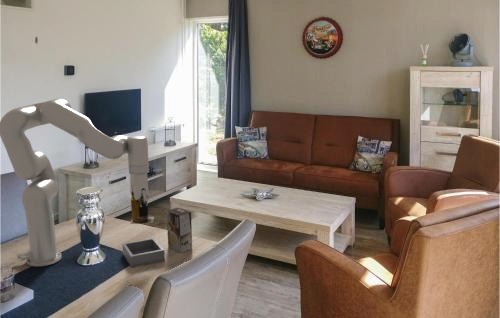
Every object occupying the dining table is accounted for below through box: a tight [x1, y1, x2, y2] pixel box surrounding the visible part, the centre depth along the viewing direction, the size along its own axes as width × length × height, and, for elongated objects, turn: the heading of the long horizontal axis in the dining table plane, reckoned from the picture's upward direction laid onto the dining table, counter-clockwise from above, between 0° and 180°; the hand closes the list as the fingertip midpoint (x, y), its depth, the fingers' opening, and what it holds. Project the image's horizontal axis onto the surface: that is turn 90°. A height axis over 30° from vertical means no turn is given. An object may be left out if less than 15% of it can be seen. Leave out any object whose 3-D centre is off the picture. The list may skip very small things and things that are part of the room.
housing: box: [122, 237, 166, 269], centre depth 183 cm, size 13×14×4 cm
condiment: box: [129, 192, 155, 225], centre depth 179 cm, size 7×8×12 cm
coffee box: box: [166, 207, 193, 254], centre depth 191 cm, size 9×6×16 cm
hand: (141, 213), depth 180 cm, fingers closed on condiment, 6 cm apart
